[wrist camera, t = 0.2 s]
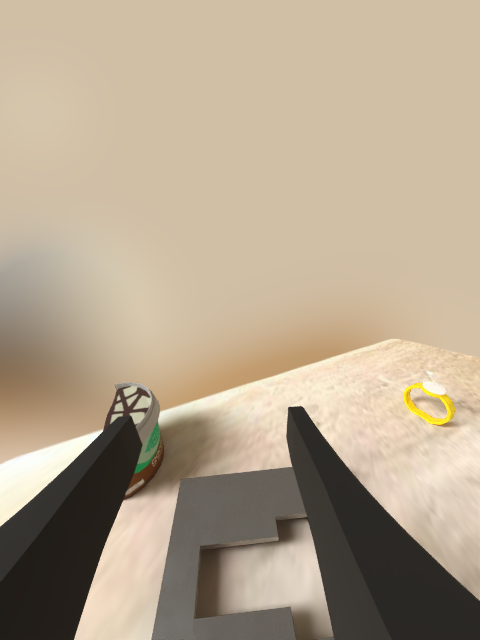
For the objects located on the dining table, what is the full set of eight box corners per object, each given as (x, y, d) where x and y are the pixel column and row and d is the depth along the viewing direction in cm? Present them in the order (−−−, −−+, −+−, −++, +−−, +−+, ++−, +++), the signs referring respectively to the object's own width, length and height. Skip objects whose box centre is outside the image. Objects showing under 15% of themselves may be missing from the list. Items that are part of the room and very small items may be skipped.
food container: (172, 494, 26) (152, 440, 22) (118, 515, 24) (86, 461, 20) (171, 417, 37) (158, 371, 32) (134, 428, 35) (115, 382, 31)
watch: (448, 426, 32) (466, 398, 29) (438, 434, 30) (456, 406, 28) (405, 398, 36) (417, 373, 34) (396, 405, 35) (407, 378, 33)
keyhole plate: (467, 780, 12) (484, 779, 11) (129, 831, 11) (115, 835, 10) (333, 474, 26) (335, 462, 25) (184, 491, 26) (181, 479, 25)
